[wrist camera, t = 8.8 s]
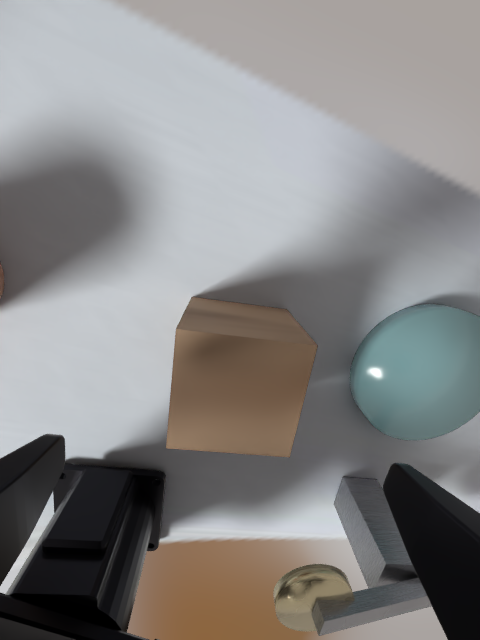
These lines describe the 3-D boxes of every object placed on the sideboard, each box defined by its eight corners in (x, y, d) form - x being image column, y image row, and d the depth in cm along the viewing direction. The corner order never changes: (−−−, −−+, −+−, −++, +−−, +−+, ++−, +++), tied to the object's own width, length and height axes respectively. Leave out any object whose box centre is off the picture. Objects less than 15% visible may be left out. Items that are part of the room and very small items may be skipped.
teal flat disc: (451, 432, 17) (467, 445, 16) (334, 420, 17) (342, 433, 15) (506, 314, 15) (530, 320, 14) (373, 293, 14) (386, 299, 13)
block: (269, 390, 16) (289, 457, 11) (183, 381, 15) (166, 448, 11) (286, 308, 14) (317, 345, 10) (191, 296, 14) (176, 329, 9)
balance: (434, 516, 20) (537, 655, 13) (254, 505, 18) (271, 653, 12) (453, 478, 19) (576, 608, 12) (264, 463, 17) (289, 600, 11)
